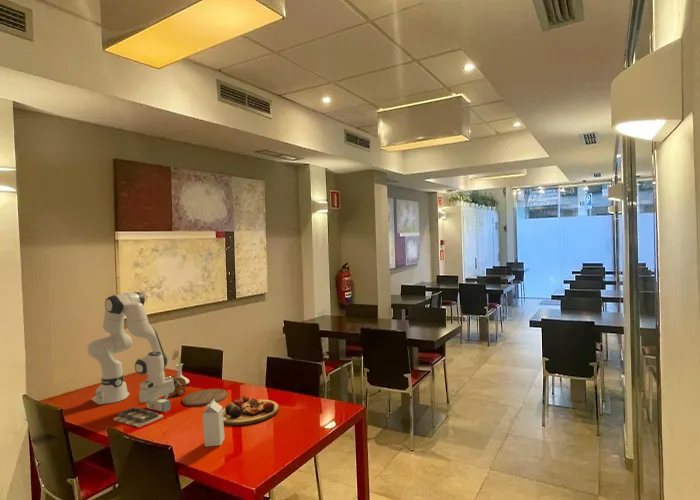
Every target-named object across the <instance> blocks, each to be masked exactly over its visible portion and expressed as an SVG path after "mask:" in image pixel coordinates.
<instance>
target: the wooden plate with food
mask: <svg viewBox="0 0 700 500" xmlns="http://www.w3.org/2000/svg"><path fill="white" fill-rule="evenodd" d="M241 397H242V398H237V399H236V398H235V399H234V400H233V402H231V401H229V402H228V403H227V404H226V405H225V407H223V423H224V425H228V426H244V425H250V424H255V423H256V424H257V423H259V422H263V421H266V420H268V419H270V418H272V417H273V416H274V415H276V414H277V413H278V412H279V407H280V405H279V403H277V402H276V401H273V400H270V399H255V397H252V398H251V399H250V398H249V396H248V395H243V396H241Z"/></svg>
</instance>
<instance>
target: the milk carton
mask: <svg viewBox="0 0 700 500" xmlns="http://www.w3.org/2000/svg"><path fill="white" fill-rule="evenodd" d="M204 409H205V410H204V412H203V413H202V424H203V425H202V426H203V427H202V429H203V439H204V440H203V441H204V447H218V446H221V445H222V444H223V442H224V440H225V424H224V423H223V409H224V407H223V406H222V405H220V404H219V402H215V400H214V399H213V401H212V402H211V403H210V405H209V404H208V405H206V406H204Z"/></svg>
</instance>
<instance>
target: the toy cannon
mask: <svg viewBox="0 0 700 500" xmlns="http://www.w3.org/2000/svg"><path fill="white" fill-rule="evenodd" d="M178 374H179V373H178V372H176V373H174V374H169V375H168V377H169V376H171V377H173V382H174V387H175V390H174V392H172V393H169V394H168V397H173V396H174V395H178V396H184V395H185V394H186V386H187V384H186V382H185V379H183V378H181V377H177V376H178ZM175 376H176V377H175ZM177 381H179V382H177ZM179 383H180V384H179ZM181 384H182V385H181Z"/></svg>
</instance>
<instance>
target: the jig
mask: <svg viewBox="0 0 700 500" xmlns="http://www.w3.org/2000/svg"><path fill="white" fill-rule="evenodd" d="M162 418H164V415H163V414H159V413H158V412H155V411H151V410H147V409H144V408H139V407H135V406H134V407H131V408H128V409H126V410H123V411H120V412H118V416H116V417H113V420H114V421H115V422H119V423H122V424H126V425H129V426H133V427H135V426H136V427H137V428H141V427H143V426H145V425H148V424H151V423H153V422H155V421H158V420H159V419H162Z"/></svg>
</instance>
